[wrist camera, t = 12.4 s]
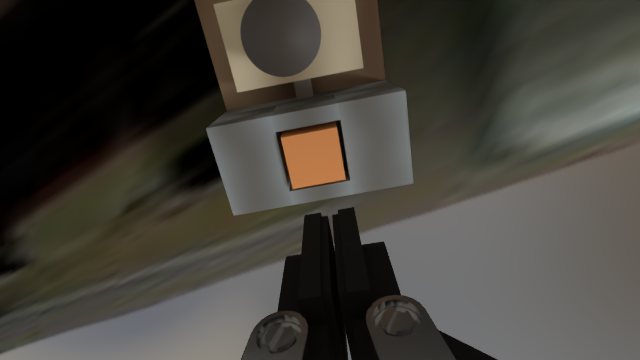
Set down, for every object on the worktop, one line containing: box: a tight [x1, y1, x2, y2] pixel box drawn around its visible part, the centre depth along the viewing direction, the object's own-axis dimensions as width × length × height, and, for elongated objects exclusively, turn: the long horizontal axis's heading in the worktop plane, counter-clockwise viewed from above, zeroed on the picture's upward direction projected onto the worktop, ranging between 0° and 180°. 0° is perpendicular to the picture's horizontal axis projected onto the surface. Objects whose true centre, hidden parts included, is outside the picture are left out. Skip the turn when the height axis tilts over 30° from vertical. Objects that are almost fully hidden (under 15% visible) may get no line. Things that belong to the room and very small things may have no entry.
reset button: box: [281, 121, 346, 189], centre depth 22 cm, size 3×3×3 cm
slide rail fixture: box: [194, 0, 413, 216], centre depth 21 cm, size 12×22×7 cm, turn 10°
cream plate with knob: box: [213, 0, 364, 93], centre depth 17 cm, size 8×5×10 cm, turn 100°
